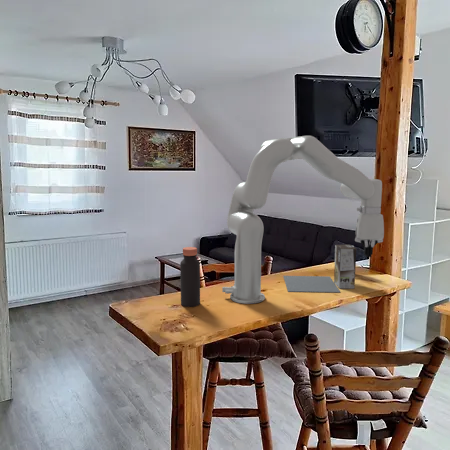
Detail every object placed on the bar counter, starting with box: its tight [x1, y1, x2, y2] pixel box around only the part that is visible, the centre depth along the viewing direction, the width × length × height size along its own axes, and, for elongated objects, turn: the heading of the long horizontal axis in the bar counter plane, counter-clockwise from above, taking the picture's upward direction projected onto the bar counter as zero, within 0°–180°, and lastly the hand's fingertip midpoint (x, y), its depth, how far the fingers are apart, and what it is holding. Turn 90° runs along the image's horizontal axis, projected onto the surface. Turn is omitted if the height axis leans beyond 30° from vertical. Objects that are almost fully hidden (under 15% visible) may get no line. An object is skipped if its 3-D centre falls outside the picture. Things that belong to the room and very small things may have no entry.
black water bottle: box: [179, 246, 201, 308], centre depth 147 cm, size 7×7×20 cm
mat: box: [282, 275, 341, 294], centre depth 173 cm, size 20×22×1 cm
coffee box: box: [333, 244, 358, 290], centre depth 170 cm, size 9×6×16 cm
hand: (368, 256), depth 169 cm, fingers closed
